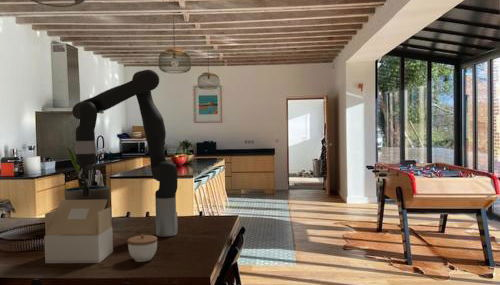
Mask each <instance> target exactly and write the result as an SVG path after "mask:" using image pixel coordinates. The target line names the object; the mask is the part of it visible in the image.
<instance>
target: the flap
mask: <svg viewBox="0 0 500 285" xmlns="http://www.w3.org/2000/svg"><path fill="white" fill-rule="evenodd" d="M106 203H107V199H105V200H65V199H61V200H60V202H59V205H58V207H57V208H56V209H57V211H56V213H55V215H54V218H53V220H52V222H51V224H50V226H49V229H48V231H47V233H46V232H45V235H46V234H47V235H80V234H96V231H97V213H98V212H100V211H102V210H104V208H105V205H106Z"/></svg>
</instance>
